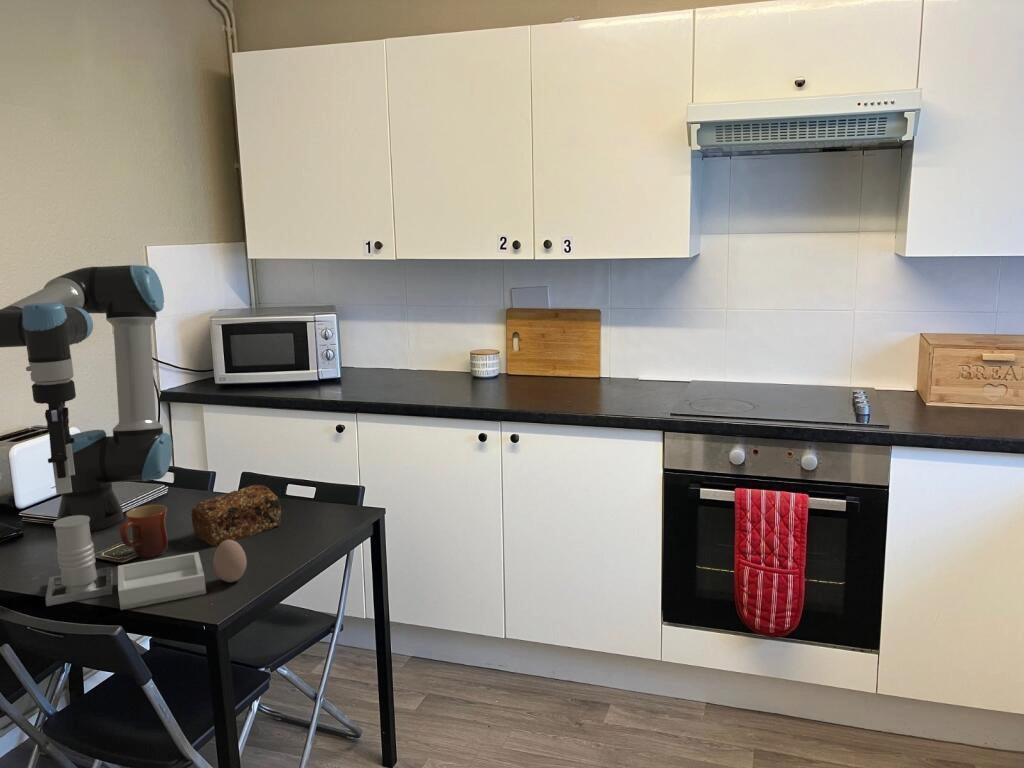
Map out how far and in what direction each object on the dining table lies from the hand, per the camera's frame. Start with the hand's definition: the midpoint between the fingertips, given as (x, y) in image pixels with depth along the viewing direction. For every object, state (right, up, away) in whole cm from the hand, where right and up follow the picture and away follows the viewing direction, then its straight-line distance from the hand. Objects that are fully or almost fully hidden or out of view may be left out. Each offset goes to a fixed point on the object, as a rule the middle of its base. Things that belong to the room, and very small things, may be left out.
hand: (66, 484), depth 176 cm
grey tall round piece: (+1, -23, +5) cm, 23 cm away
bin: (+18, -22, +4) cm, 29 cm away
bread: (+24, -16, +35) cm, 45 cm away
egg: (+32, -21, +6) cm, 39 cm away
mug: (+7, -19, +22) cm, 30 cm away
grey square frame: (+1, -22, +5) cm, 23 cm away
